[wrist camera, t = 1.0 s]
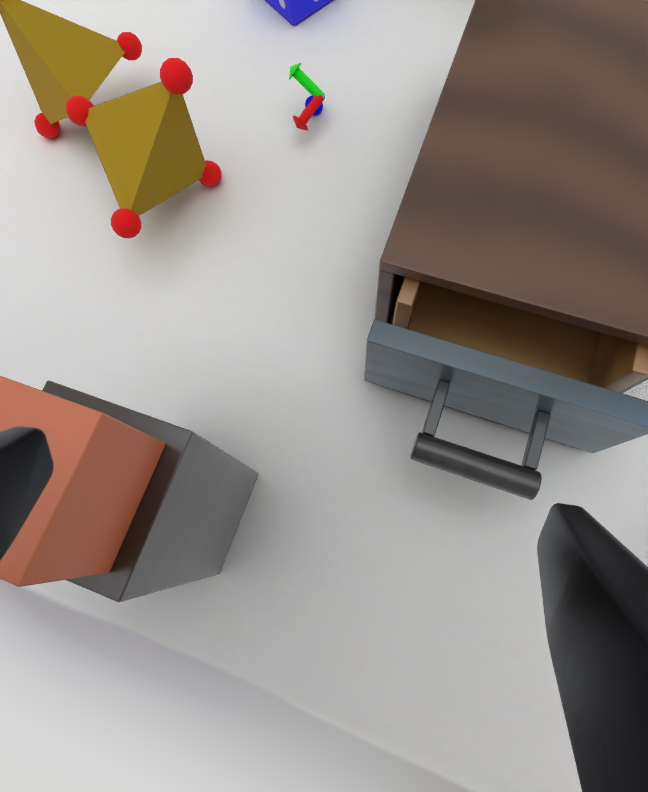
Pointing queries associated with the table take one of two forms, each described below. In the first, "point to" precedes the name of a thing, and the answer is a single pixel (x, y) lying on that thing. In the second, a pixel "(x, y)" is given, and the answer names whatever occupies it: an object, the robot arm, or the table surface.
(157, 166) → the molecule model
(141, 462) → the block
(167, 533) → the pedestal
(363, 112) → the table surface
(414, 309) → the drawer
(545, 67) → the cabinet
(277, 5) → the die
